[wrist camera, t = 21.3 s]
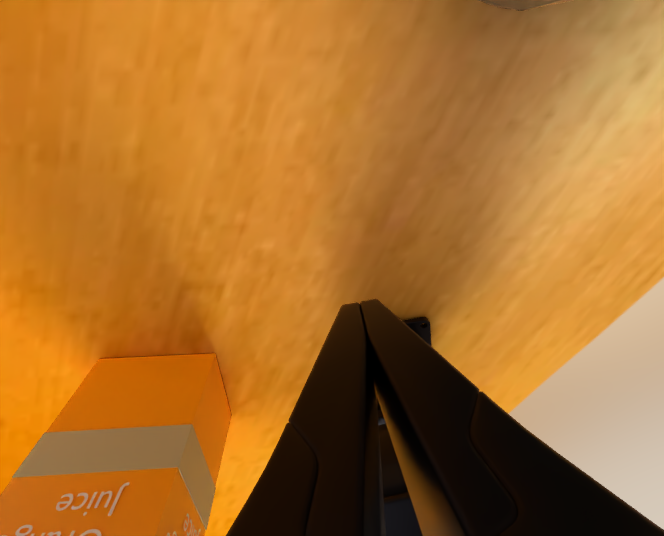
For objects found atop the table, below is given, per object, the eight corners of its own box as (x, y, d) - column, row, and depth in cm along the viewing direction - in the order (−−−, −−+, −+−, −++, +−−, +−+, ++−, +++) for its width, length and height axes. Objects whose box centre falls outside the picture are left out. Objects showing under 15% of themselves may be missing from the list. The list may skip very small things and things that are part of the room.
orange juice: (97, 357, 25) (-352, 971, 8) (216, 351, 26) (27, 926, 8) (130, 421, 29) (-123, 923, 12) (232, 416, 30) (126, 894, 12)
